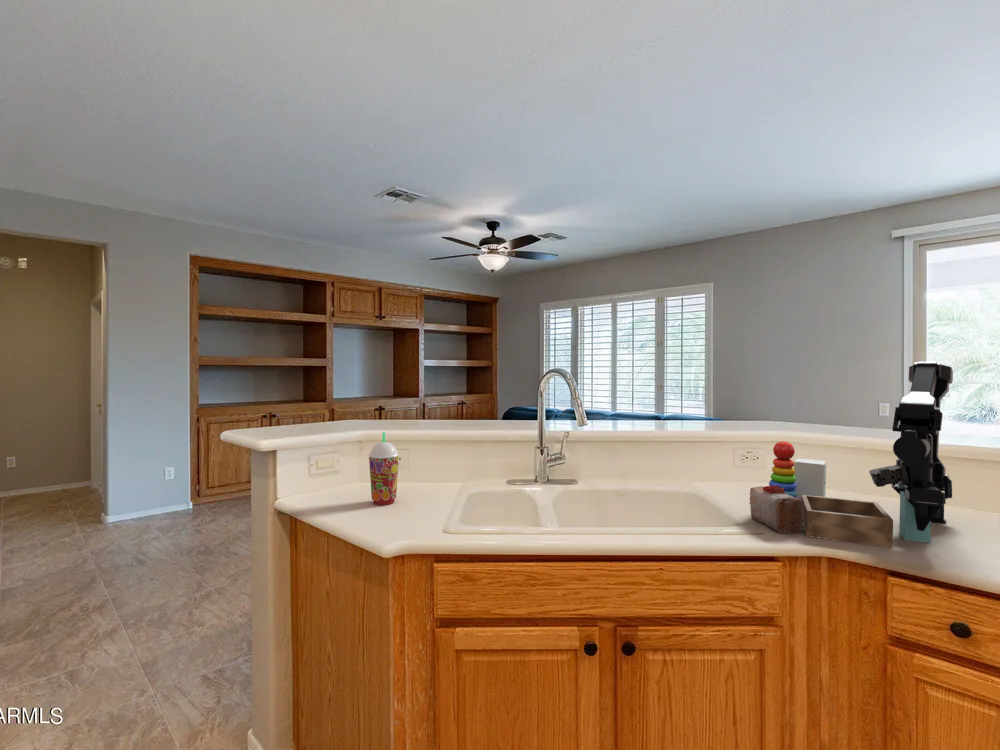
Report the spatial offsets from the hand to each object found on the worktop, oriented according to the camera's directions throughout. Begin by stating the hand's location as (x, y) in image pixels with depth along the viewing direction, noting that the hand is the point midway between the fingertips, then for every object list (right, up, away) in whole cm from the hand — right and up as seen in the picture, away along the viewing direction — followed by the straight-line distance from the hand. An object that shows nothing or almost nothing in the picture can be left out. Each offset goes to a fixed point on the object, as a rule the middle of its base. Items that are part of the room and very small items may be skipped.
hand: (914, 524), depth 118 cm
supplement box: (-8, -3, +26) cm, 28 cm away
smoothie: (-128, -2, +28) cm, 131 cm away
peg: (0, -3, 0) cm, 3 cm away
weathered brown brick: (-27, -3, +9) cm, 29 cm away
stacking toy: (-18, -3, +22) cm, 29 cm away
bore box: (-13, -3, +4) cm, 14 cm away
